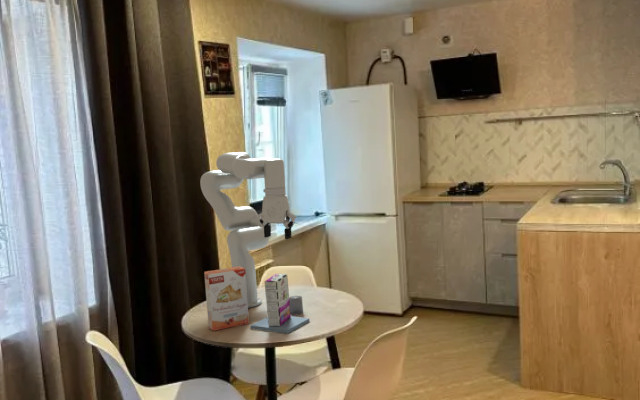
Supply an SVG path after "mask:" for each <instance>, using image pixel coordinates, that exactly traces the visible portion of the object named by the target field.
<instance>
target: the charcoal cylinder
mask: <svg viewBox="0 0 640 400" xmlns="http://www.w3.org/2000/svg"><path fill="white" fill-rule="evenodd" d="M289 301H290V312H291V315H293V316H295V315H301V314H303V313H304V307H303V296H302V295H293V296H289Z"/></svg>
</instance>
